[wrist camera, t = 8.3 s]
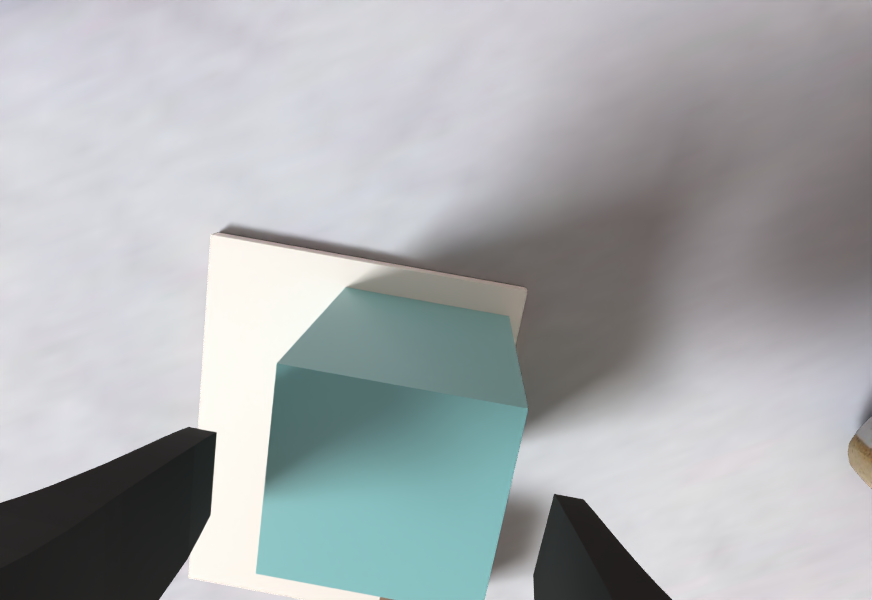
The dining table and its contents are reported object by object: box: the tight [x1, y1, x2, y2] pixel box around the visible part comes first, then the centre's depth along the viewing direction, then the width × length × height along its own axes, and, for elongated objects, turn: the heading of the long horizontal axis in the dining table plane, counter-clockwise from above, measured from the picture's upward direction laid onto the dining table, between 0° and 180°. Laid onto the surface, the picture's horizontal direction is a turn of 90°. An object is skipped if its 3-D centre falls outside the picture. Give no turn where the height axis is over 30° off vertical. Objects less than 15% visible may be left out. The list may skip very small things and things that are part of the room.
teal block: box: [256, 287, 528, 600], centre depth 16 cm, size 5×5×7 cm
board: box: [188, 232, 527, 600], centre depth 20 cm, size 13×10×1 cm
